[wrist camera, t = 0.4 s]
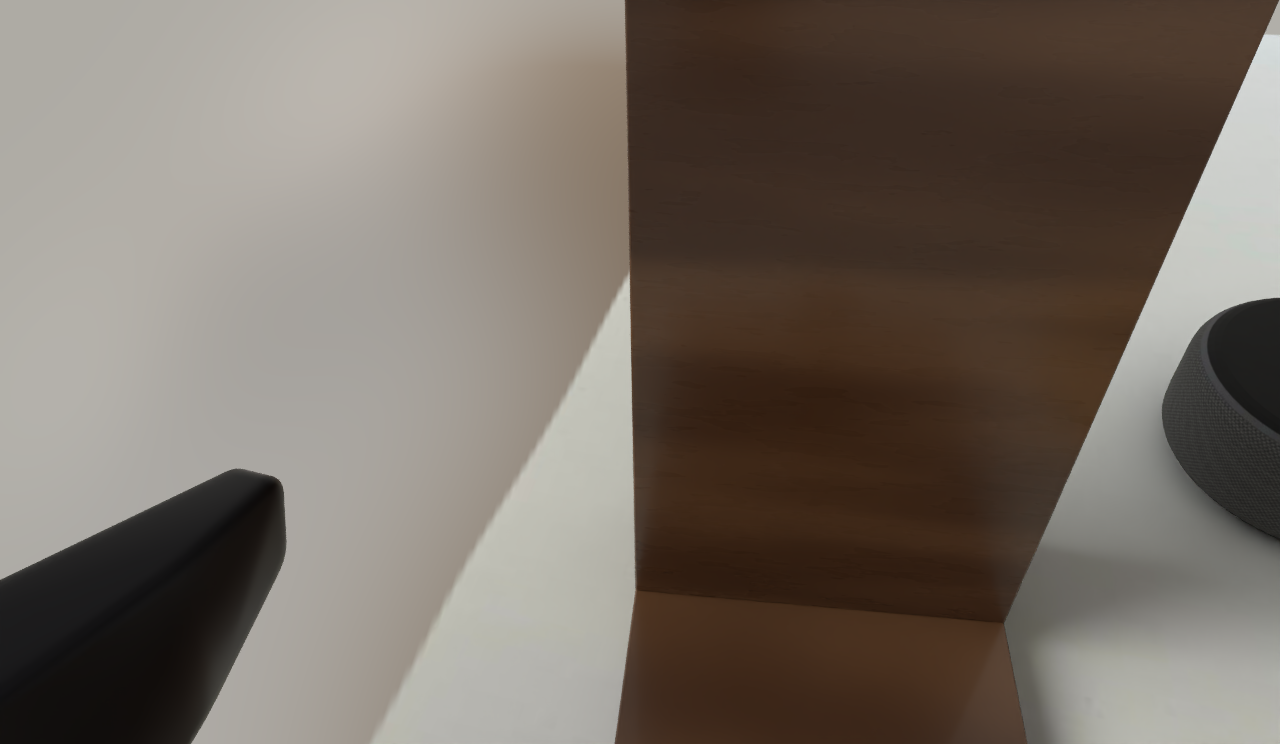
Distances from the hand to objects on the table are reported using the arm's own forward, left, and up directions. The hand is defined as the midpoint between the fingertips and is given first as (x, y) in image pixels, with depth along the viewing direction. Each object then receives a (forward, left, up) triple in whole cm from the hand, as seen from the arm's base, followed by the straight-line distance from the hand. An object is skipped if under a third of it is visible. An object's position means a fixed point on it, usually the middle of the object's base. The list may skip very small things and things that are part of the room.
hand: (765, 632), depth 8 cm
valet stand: (+7, -2, -16) cm, 18 cm away
